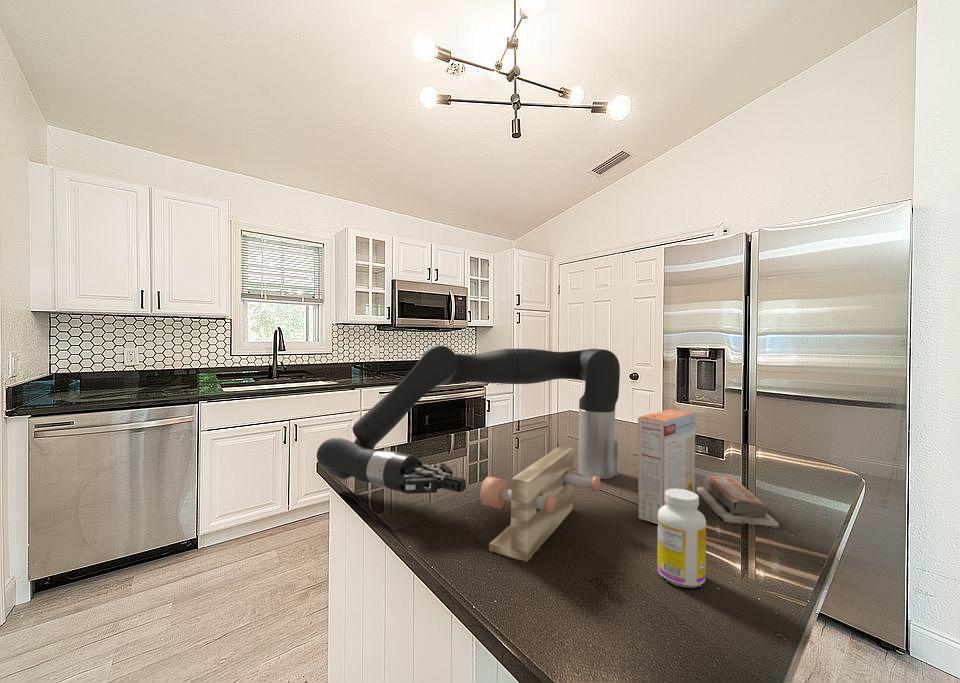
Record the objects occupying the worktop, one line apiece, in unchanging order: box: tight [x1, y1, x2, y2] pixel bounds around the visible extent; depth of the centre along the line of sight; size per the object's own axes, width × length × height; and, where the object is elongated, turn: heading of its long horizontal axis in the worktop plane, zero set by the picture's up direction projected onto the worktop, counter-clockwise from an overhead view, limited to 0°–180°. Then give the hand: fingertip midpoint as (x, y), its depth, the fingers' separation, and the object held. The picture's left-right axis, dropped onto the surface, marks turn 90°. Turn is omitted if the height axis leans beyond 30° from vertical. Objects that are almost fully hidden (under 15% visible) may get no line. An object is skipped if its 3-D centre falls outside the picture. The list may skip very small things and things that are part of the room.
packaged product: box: [696, 474, 780, 528], centre depth 90 cm, size 18×5×10 cm
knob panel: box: [488, 445, 574, 563], centre depth 79 cm, size 7×24×13 cm, turn 150°
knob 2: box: [535, 460, 601, 493], centre depth 84 cm, size 13×5×5 cm, turn 60°
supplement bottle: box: [656, 489, 707, 586], centre depth 63 cm, size 7×7×13 cm
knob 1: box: [479, 476, 556, 514], centre depth 73 cm, size 13×5×5 cm, turn 60°
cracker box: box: [637, 408, 696, 524], centre depth 86 cm, size 14×6×21 cm, turn 131°
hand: (463, 485), depth 79 cm, fingers closed
